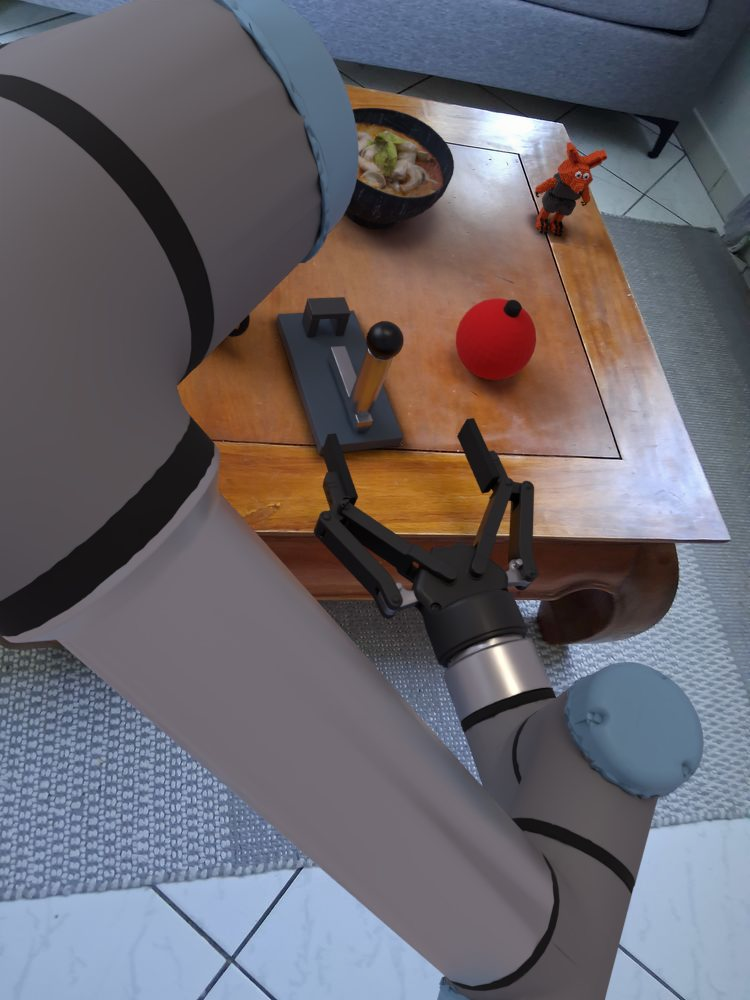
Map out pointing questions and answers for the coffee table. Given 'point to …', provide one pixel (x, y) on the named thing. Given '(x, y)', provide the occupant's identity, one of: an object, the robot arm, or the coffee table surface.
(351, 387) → the ball-knob lever
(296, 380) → the grey lever base
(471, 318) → the ornament
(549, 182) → the toy animal
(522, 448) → the coffee table surface
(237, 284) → the robot arm
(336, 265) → the coffee table surface
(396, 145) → the bowl
